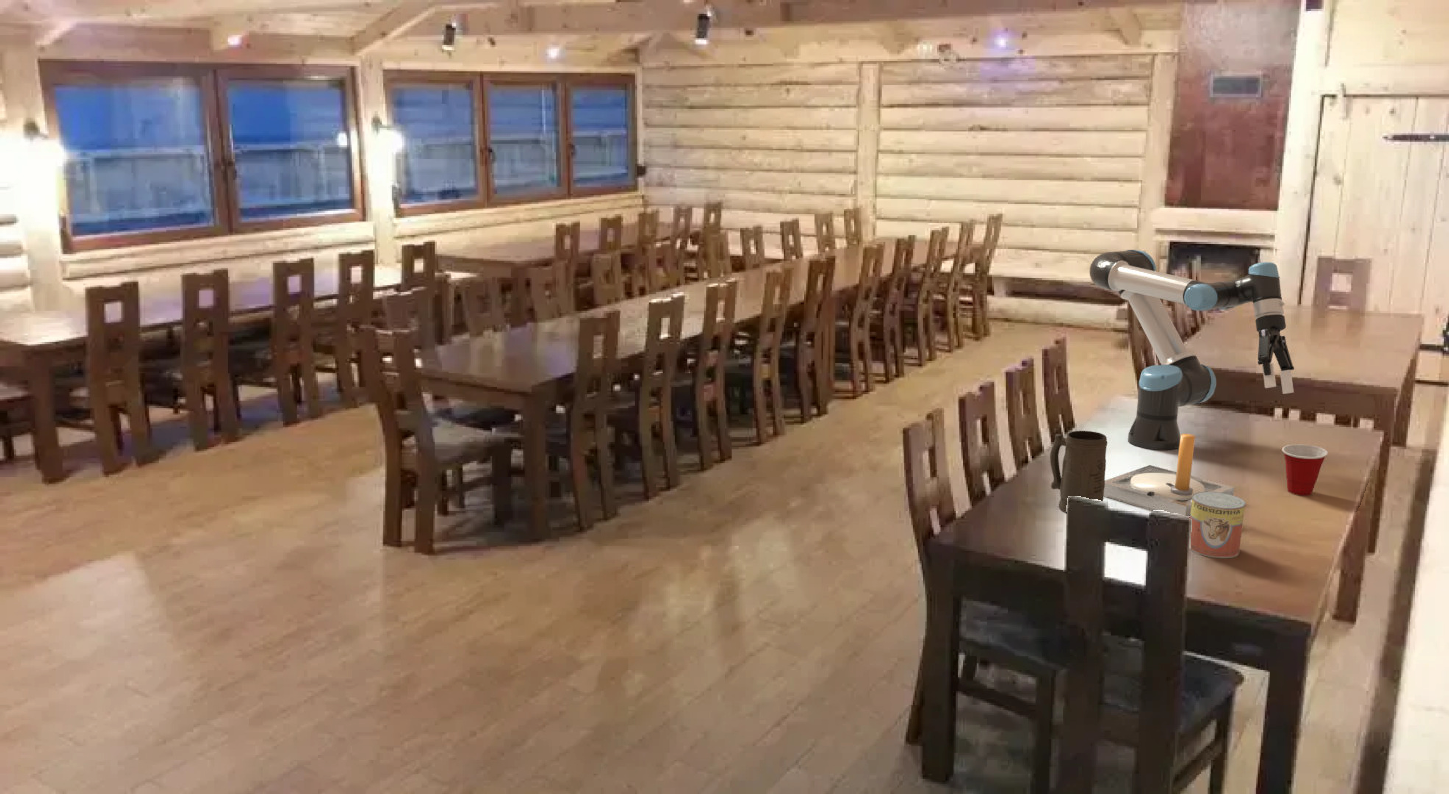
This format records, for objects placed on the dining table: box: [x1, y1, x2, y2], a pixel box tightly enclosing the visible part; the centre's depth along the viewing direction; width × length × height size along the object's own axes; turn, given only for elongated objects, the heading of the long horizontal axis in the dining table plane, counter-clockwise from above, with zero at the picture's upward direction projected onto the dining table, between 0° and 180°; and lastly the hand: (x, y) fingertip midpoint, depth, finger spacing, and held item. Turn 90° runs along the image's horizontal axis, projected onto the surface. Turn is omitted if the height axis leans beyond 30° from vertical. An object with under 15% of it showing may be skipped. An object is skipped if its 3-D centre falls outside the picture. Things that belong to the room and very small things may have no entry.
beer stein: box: [1049, 430, 1108, 513], centre depth 287 cm, size 15×11×20 cm
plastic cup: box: [1281, 443, 1329, 496], centre depth 300 cm, size 11×11×12 cm
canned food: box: [1189, 492, 1246, 559], centre depth 261 cm, size 11×11×12 cm
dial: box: [1130, 433, 1204, 500], centre depth 294 cm, size 19×18×16 cm
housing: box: [1103, 464, 1235, 516], centre depth 296 cm, size 24×24×4 cm
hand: (1279, 390), depth 316 cm, fingers open, 13 cm apart
